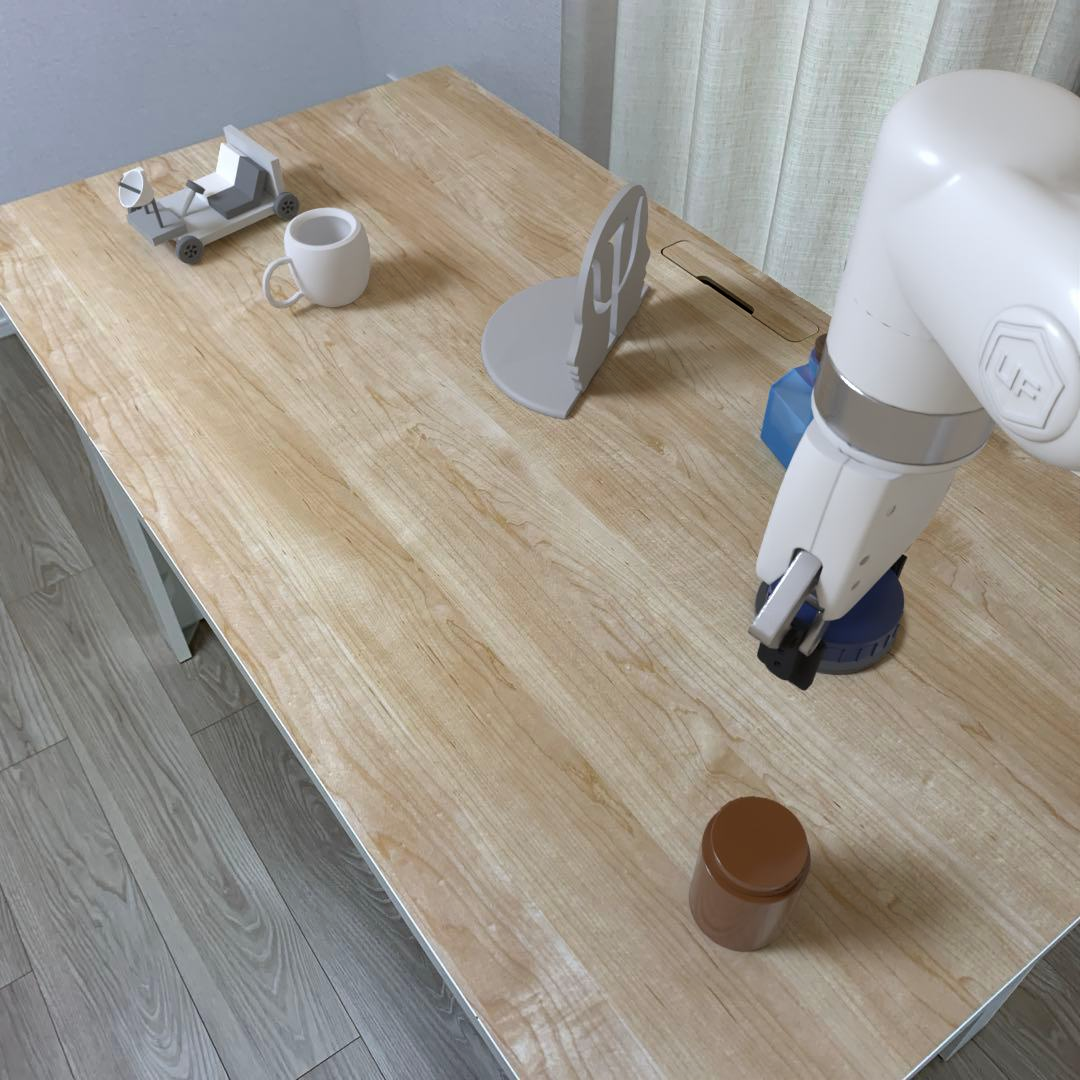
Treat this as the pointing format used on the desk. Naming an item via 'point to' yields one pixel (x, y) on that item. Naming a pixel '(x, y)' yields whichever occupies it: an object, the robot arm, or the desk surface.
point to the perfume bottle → (791, 407)
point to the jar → (749, 873)
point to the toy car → (210, 199)
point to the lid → (860, 621)
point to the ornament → (572, 314)
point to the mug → (324, 258)
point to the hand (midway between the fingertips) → (824, 627)
